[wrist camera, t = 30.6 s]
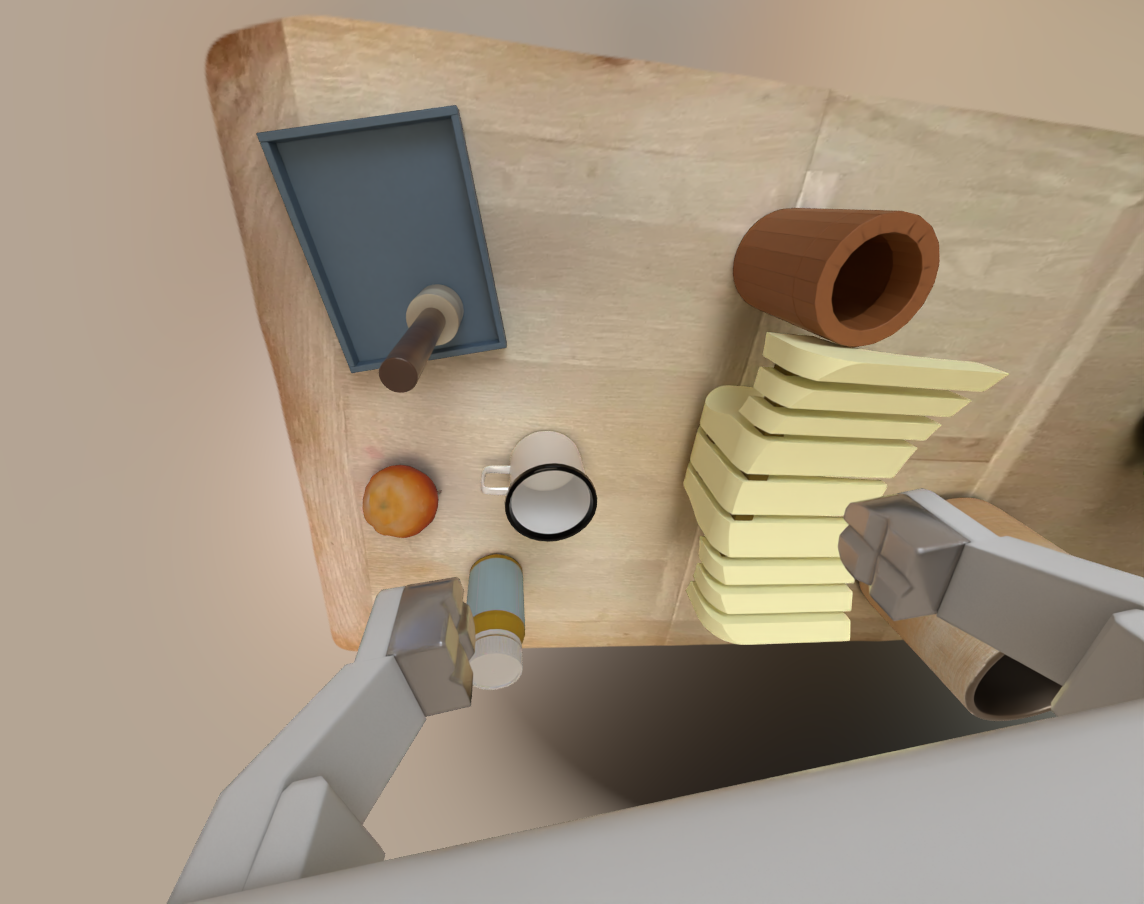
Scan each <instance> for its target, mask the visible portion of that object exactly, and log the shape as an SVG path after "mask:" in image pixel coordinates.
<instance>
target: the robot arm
mask: <svg viewBox="0 0 1144 904" xmlns="http://www.w3.org/2000/svg"><path fill="white" fill-rule="evenodd" d="M843 519H844V520H845V521H846V523H847V524H848V526H847V527H846V528H845V529H844V531H843V532H842V533H841V534H840V535H839V541H838V551H839V555H840V559H841V561H842V563H843V565H844V567H845V568H846V570H847V571H848V572H849V573H850V574H851V575H852V577H853V578H854V579H856V580H858V581H861V582H863V583H865V584H867V585H869V595H870V596H871V597H872V598H873V600H874V601H875V602H876V603H877V604H878V605H879V606H880V607H881V608H882V609H883V610H884V611H885V612H886V614H887V615H888V616H889V617H890V618H891V619H892V620H893V621H898V620H904V619H910V618H916V617H922V616H927V615H933V614H937V615H936V616H937V617H938V618H940V619H942V620H944V621H946V622H947V623H949V624H951V625H953V626H955V627H956V628H958V629H960V630H962V631H964V632H966V633H967V634H969V635H971V636H973V637H975V638H976V639H978V640H980V641H982V642H984V643H985V644H987V645H989V646H991V647H993V648H995V649H996V650H998V651H1000V652H1002V653H1004V654H1005V655H1007V656H1009V657H1011V658H1013V659H1014V660H1016V661H1018V662H1020V663H1022V664H1024V665H1025V666H1027V667H1029V668H1031V669H1033V670H1034V671H1036V672H1038V673H1040V674H1042V675H1043V676H1045V677H1047V678H1049V679H1051V680H1053V681H1054V682H1056V683H1058V684H1060V685H1062V688H1061V689H1060V690H1059V692H1058V693H1057V695H1056V696H1055V698H1054V699H1053V701H1052V702H1051V711H1052V712H1053V713H1054V714H1055V715H1056V716H1057V717H1053V718H1048V719H1043V720H1039V721H1034V722H1029V723H1025V724H1020V725H1015V726H1011V727H1006V728H1001V729H997V730H992V731H987V732H983V733H978V734H973V735H968V736H964V737H959V738H954V739H950V740H945V741H941V742H936V743H931V744H926V745H922V746H917V747H913V748H908V749H903V750H899V751H894V752H889V753H884V754H880V755H875V756H870V757H866V758H861V759H856V760H852V761H847V762H843V763H838V764H833V765H829V766H824V767H819V768H814V769H809V770H805V771H800V772H796V773H791V774H786V775H781V776H777V777H772V778H768V779H763V780H758V781H754V782H749V783H744V784H740V785H735V786H730V787H725V788H721V789H716V790H712V791H707V792H702V793H697V794H693V795H688V796H683V797H679V798H674V799H669V800H665V801H660V802H656V803H651V804H646V805H642V806H637V807H632V808H628V809H623V810H618V811H614V812H609V813H604V814H600V815H595V816H591V817H586V818H581V819H576V820H572V821H568V822H562V823H558V824H553V825H548V826H544V827H539V828H534V829H530V830H525V831H521V832H516V833H511V834H506V835H502V836H498V837H493V838H488V839H483V840H479V841H475V842H469V843H465V844H460V845H455V846H451V847H446V848H442V849H437V850H432V851H427V852H423V853H418V854H413V855H409V856H404V857H399V858H395V859H390V860H385V861H384V857H385V853H384V851H383V850H382V848H381V847H380V845H379V844H378V843H377V842H376V840H375V839H374V838H373V837H372V836H371V834H370V833H369V832H368V831H367V830H366V828H365V827H364V826H363V825H362V824H363V822H364V821H365V819H366V818H367V816H368V814H369V812H370V811H371V809H372V808H373V806H374V804H375V803H376V801H377V800H378V798H379V796H380V795H381V793H382V791H383V790H384V788H385V786H386V785H387V783H388V782H389V780H390V778H391V777H392V775H393V773H394V772H395V770H396V768H397V767H398V765H399V763H400V762H401V760H402V759H403V757H404V755H405V754H406V752H407V750H408V749H409V747H410V746H411V744H412V742H413V741H414V739H415V737H416V736H417V734H418V732H419V731H420V729H421V727H422V726H423V724H424V722H425V721H426V717H427V716H431V715H435V714H440V713H444V712H448V711H453V710H457V709H461V708H465V707H470V706H471V698H472V686H473V671H472V668H471V666H470V663H469V660H470V659H471V658H472V656H473V655H474V653H475V643H476V638H475V624H474V620H473V615H472V612H471V609H470V606H469V605H468V604H466V603H464V602H463V595H464V589H463V587H462V584H461V582H460V579H459V578H457V577H454V578H447V579H441V580H435V581H429V582H423V583H417V584H411V585H407V586H403V587H396V588H390V589H383V590H381V591H380V592H379V594H378V595H377V596H376V599H375V602H374V605H373V608H372V610H371V613H370V616H369V619H368V622H367V625H366V628H365V631H364V634H363V637H362V640H361V643H360V646H359V649H358V652H357V655H356V658H355V661H354V663H351V664H347V665H345V666H344V667H343V668H342V669H341V670H340V671H339V672H338V673H337V674H336V675H335V676H334V677H333V678H332V679H331V680H330V681H329V682H328V683H327V685H325V686H324V688H322V690H321V691H320V692H319V693H318V694H317V695H316V696H315V697H314V698H313V699H312V700H311V701H310V702H309V703H308V704H307V705H306V706H305V707H304V708H303V709H302V710H301V711H300V712H299V713H298V714H297V715H296V716H295V718H293V719H292V720H291V721H290V722H289V723H288V724H287V726H286V727H285V728H284V729H283V730H282V731H281V732H280V733H279V734H278V735H277V736H276V737H275V738H274V739H273V740H272V741H271V742H270V743H269V744H268V745H267V746H266V747H265V748H264V749H263V750H262V751H261V752H260V753H259V754H258V755H257V756H256V757H255V758H254V759H253V760H252V761H251V762H250V764H249V765H248V766H247V767H246V768H245V769H244V770H243V771H242V772H241V773H240V774H239V775H238V776H237V777H236V778H235V779H234V780H233V781H232V782H231V783H230V784H229V785H228V786H227V787H226V788H225V789H224V790H223V791H222V792H221V793H220V795H219V797H218V800H217V802H216V804H215V806H214V808H213V810H212V812H211V814H210V816H209V818H208V820H207V822H206V824H205V826H204V828H203V830H202V832H201V834H200V836H199V838H198V841H197V842H196V845H195V847H194V849H193V851H192V853H191V855H190V857H189V859H188V861H187V863H186V865H185V867H184V869H183V871H182V873H181V875H180V877H179V879H178V882H177V884H176V885H175V887H174V890H173V892H172V894H171V896H170V898H169V900H168V902H167V904H1144V578H1143V577H1139V576H1136V575H1133V574H1130V573H1126V572H1123V571H1120V570H1117V569H1113V568H1110V567H1107V566H1104V565H1100V564H1097V563H1094V562H1091V561H1088V560H1084V559H1081V558H1078V557H1075V556H1071V555H1068V554H1065V553H1062V552H1058V551H1055V550H1052V549H1049V548H1045V547H1042V546H1039V545H1036V544H1032V543H1029V542H1026V541H1023V540H1020V539H1016V538H1013V537H1010V536H1003V537H999V536H997V535H996V534H994V533H993V532H991V531H990V530H988V529H987V528H986V527H984V526H983V525H981V524H980V523H978V522H977V521H975V520H974V519H972V518H971V517H969V516H968V515H966V514H965V513H963V512H962V511H960V510H959V509H957V508H956V507H954V506H953V505H952V504H950V503H949V502H947V501H946V500H944V499H943V498H941V497H940V496H938V495H937V494H935V493H934V492H932V491H930V490H926V489H923V488H921V489H916V490H911V491H906V492H901V493H897V494H892V495H887V496H882V497H877V498H872V499H867V500H862V501H857V502H852V503H850V504H849V505H848V506H847V507H846V509H845V513H844V517H843Z"/></svg>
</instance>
